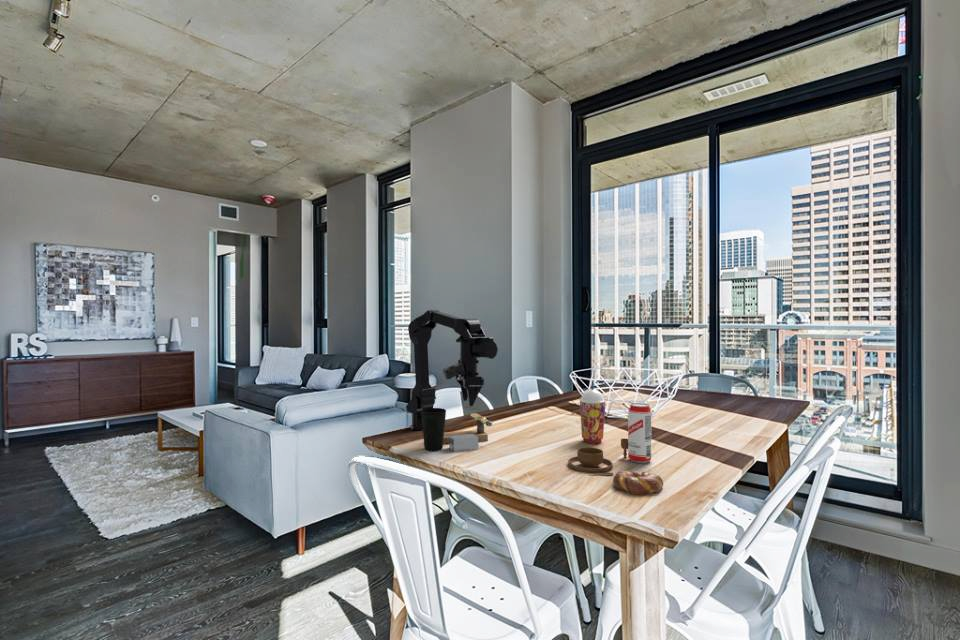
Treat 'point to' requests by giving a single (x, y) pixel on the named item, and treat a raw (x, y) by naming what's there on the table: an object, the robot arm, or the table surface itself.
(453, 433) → the plane body
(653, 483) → the pretzel
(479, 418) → the lever
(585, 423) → the smoothie
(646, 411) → the beer can
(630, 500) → the table surface
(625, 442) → the place setting
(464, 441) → the grey block
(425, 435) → the cup
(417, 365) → the robot arm
